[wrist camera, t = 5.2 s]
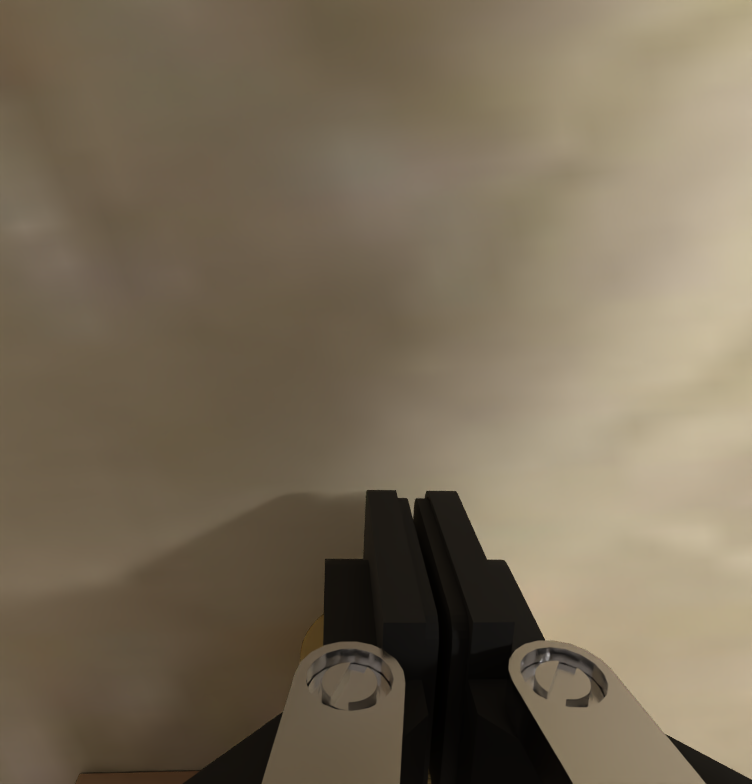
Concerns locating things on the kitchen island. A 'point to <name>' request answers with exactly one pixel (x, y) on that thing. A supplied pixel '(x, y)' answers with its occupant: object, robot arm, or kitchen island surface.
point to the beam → (136, 778)
